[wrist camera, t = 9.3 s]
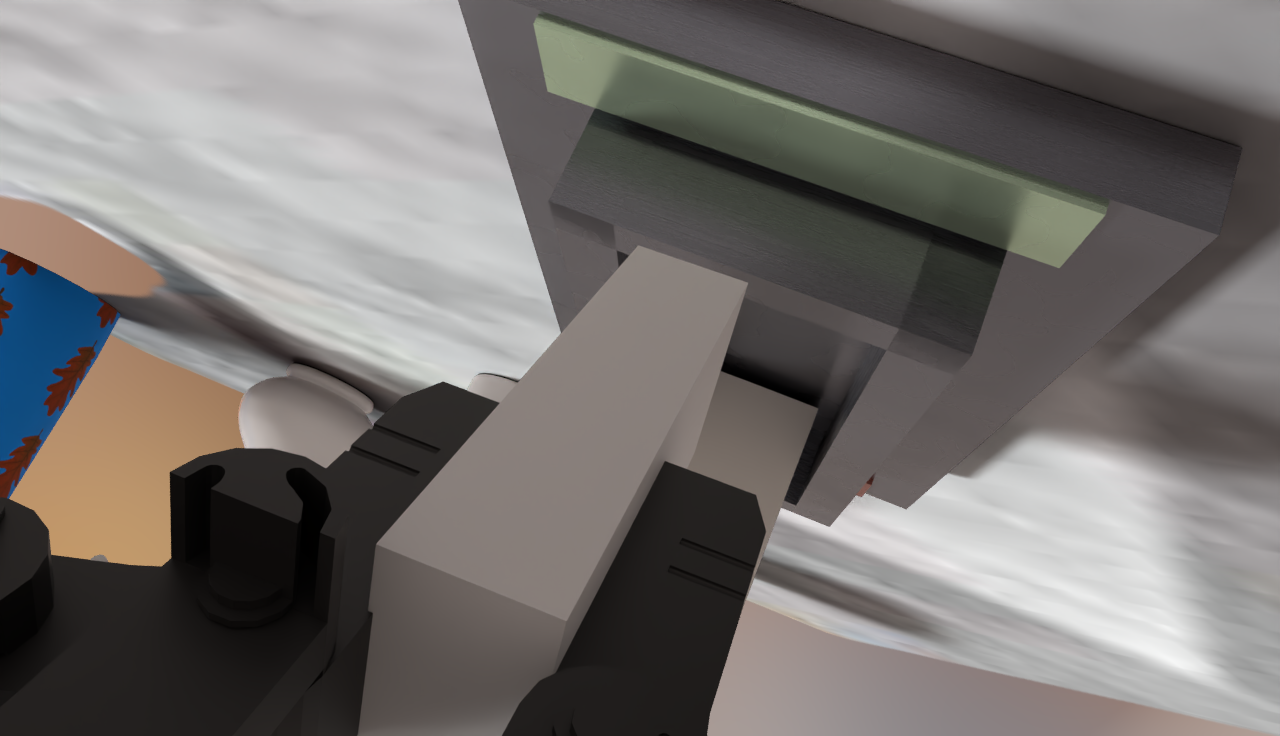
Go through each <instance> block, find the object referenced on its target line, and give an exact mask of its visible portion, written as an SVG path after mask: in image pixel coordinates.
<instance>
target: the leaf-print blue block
mask: <svg viewBox="0 0 1280 736" xmlns="http://www.w3.org/2000/svg"><path fill="white" fill-rule="evenodd" d="M120 315H121V314H120V313H119V312H118V311H117V310H116V309H115V308H113V307H112V306H110V305H109V304H107V303H106V302H105V301H103V300H102V299H100V298H98V297H97V296H95V295H93V294H92V293H90V292H88V291H87V290H85V289H83V288H82V287H80V286H78V285H76V284H74V283H72V282H71V281H69V280H67V279H65V278H63V277H61V276H59V275H57V274H56V273H54V272H52V271H49V270H47V269H45V268H43V267H41V266H39V265H37V264H35V263H33V262H31V261H29V260H27V259H24V258H22V257H20V256H17V255H15V254H13V253H11V252H8V251H5V250H2V249H0V497H4V498H8V499H9V498H10V496H11V494H12V493H13V491H14V490H15V488H16V487H17V485H18V483H19V481H20V480H21V479H22V477H23V475H24V474H25V472H26V471H27V469H28V467H29V466H30V464H31V463H32V461H33V459H34V458H35V456H36V455H37V453H38V451H39V450H40V448H41V446H42V445H43V443H44V441H45V440H46V439H47V437H48V435H49V434H50V432H51V430H52V429H53V427H54V426H55V424H56V422H57V421H58V419H59V418H60V416H61V415H62V413H63V411H64V410H65V408H66V407H67V405H68V403H69V402H70V400H71V399H72V397H73V395H74V394H75V392H76V390H77V389H78V387H79V386H80V384H81V383H82V381H83V379H84V378H85V376H86V374H87V373H88V372H89V370H90V368H91V367H92V365H93V363H94V362H95V360H96V359H97V357H98V355H99V353H100V351H101V350H102V348H103V346H104V344H105V342H106V340H107V339H108V337H109V335H110V333H111V331H112V330H113V328H114V326H115V324H116V322H117V320H118V319H119V317H120Z"/></svg>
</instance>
